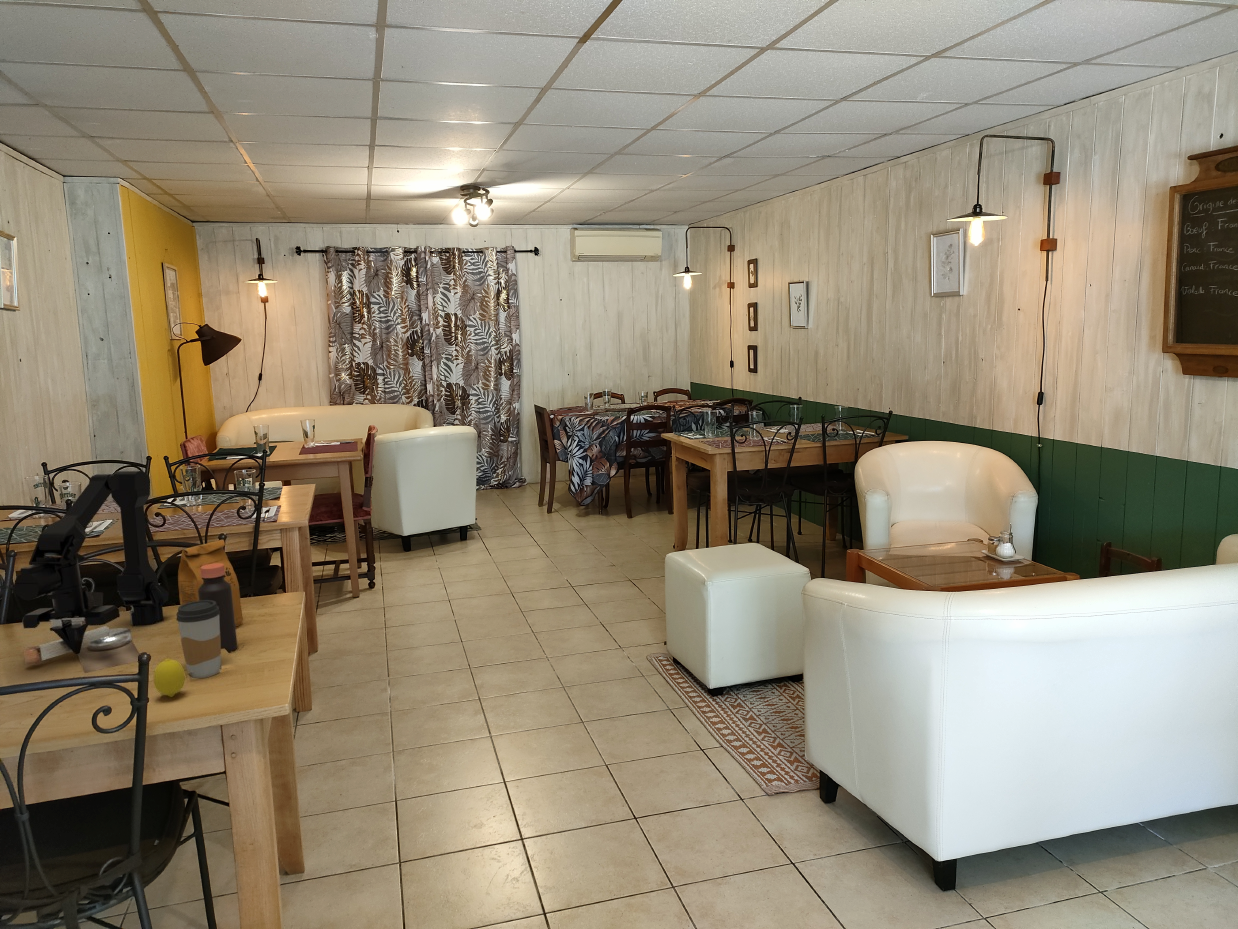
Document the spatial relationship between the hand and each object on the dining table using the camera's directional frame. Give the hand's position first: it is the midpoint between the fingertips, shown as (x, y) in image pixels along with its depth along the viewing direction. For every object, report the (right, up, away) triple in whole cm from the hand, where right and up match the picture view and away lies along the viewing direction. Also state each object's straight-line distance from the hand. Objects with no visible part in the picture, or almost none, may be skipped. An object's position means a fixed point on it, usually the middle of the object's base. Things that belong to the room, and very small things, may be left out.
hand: (77, 653), depth 188 cm
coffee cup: (+31, -3, -6) cm, 32 cm away
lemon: (+31, -5, -18) cm, 36 cm away
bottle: (+29, -1, +7) cm, 30 cm away
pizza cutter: (-1, 0, +3) cm, 4 cm away
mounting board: (+4, -2, +5) cm, 6 cm away
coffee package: (+21, +1, +20) cm, 29 cm away
